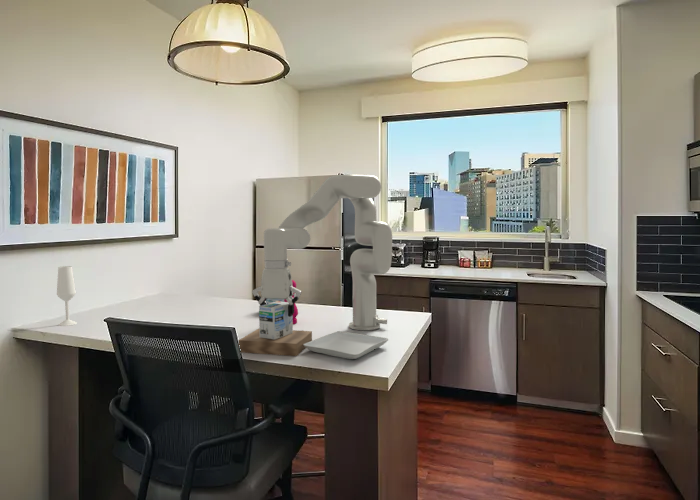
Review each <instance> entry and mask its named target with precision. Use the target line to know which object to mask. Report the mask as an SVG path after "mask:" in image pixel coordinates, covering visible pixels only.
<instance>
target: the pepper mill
mask: <svg viewBox="0 0 700 500" xmlns="http://www.w3.org/2000/svg"><path fill="white" fill-rule="evenodd" d="M292 285H293V287H295V288H296V289H297V282H296V281H295V280H294V279H292ZM295 294H296V293H294V292H293V296H292V297H293V298H294V295H295ZM284 302H287V300H286V299H284ZM298 314H299V310H298V307H297V305H296V302H295V303H294V314H293V325H296V324H297V323H298V319H297V317H298Z"/></svg>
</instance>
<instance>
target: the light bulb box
mask: <svg viewBox="0 0 700 500" xmlns="http://www.w3.org/2000/svg"><path fill="white" fill-rule="evenodd" d="M288 305H289V303H288V302H281V301H276V302H273V303H269V304H267V303H266V304H265V305H261V306H260V305H259V306H258V316H259V317H258V319H259V320H258V321H259V322H258V323H259V326H258V327H259V328H258V329H259V331H260V337H261V338H267V339H273V340H275V339H278V338H281V337H283V336H286V335H289V334H291V333H293V330H294V329H293V328H294V324H293V315H292V316H291V317H289V316H288Z"/></svg>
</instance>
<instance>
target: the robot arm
mask: <svg viewBox="0 0 700 500" xmlns="http://www.w3.org/2000/svg"><path fill="white" fill-rule="evenodd" d="M381 190H382V184H381V181H380V180H379V178H378V177H377V176H375V175H372V174H371V175H370V174H367V175H366V174H365V175H364V174H339V175H332V176H329V177H327V178H326V179H325V181H324V182H322V184H321V185H320V186H319V188H318V189H317V190H316V191H315V193H314V194H313V195H312V196H311V197H310V199H309V200H308V201H307V202H305V203H303V204H302V205H301V206H300V207H299V208H297V209H295V210H294V211H293V212H292V213H290V214H289V215H287V217H285V219H284V220H283V221H282V223H281V224H280V225H279V226H278V227H277V228H276V227H274V228H266V229H265V230H264V232H263V250H264V252H263V253H264V255H263V256H264V268H263V269H262V274H261V278H260V279H261V281H260V286H258V287H256V288H254V289H252V291H251V293H252V294H253V297H254V299H255V300H256V301H257V303H258V304H259V306H261V305H265V304H267V303H266V299H286V300H287V302H288V303H289V305H288V316H289V317H291V316H292V315H293V314H294V303H295V304H296V303H297V301H298V300H299V299H300V297H301V295H302V290H300V289H298V288H297V287H296V288H295V287H293V285H292V280H293V277H292V274H291V273H292V272H291V269H290V268H289V266H290V267H291V266H292V262H291V261H289V260H288V249H292V250H301V249H305V248H307V246H308V245H310V242H311V235H310V233H309V231H308V230H306V229H305V228H306V227H307V226H309V225H312V224H313V223H314V224H315V223H316V222H320V221H322V220H323V219H325V218H327V217H328V215H329V214H330V213H331V211H332V210H333V209H334V207H335V206H336V205H337V203H338V202H339V201H340V200H341V199H349V201H350V202H351V204H352V205H353V207H354V216H355V217H354V240H355V242H356V243H357V244H358V245H362V246H371V247H372V248H358V249H355V250H354V251H353V252H352V254H351V255H350V258H349V263H350V270H351V277H352V321H351V322H349V323H348V327H349V329H352V330H355V331H356V330H357V331H372V330H373V331H374V330H379V329H380V328H381V325H387V324H388V319H387V318H381V317H379V314H377V280H376V277H375V275H385V274H387V273H388V272H389V270H391V266H392V261H393V260H392V258H393V257H392V256H393V233H392V232H393V231H392V229H391V227H390V225H389V224H388V223H386V222H384V221H377V220H378V219H377V206H376V204H375V202H374V200H373V199H375V198H376V197H378V196H379V194H380V193H381ZM259 292H260V294H259ZM293 292H294V293H295V294H296V296H295V297H294V298H293V297H292V296H293Z"/></svg>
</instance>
